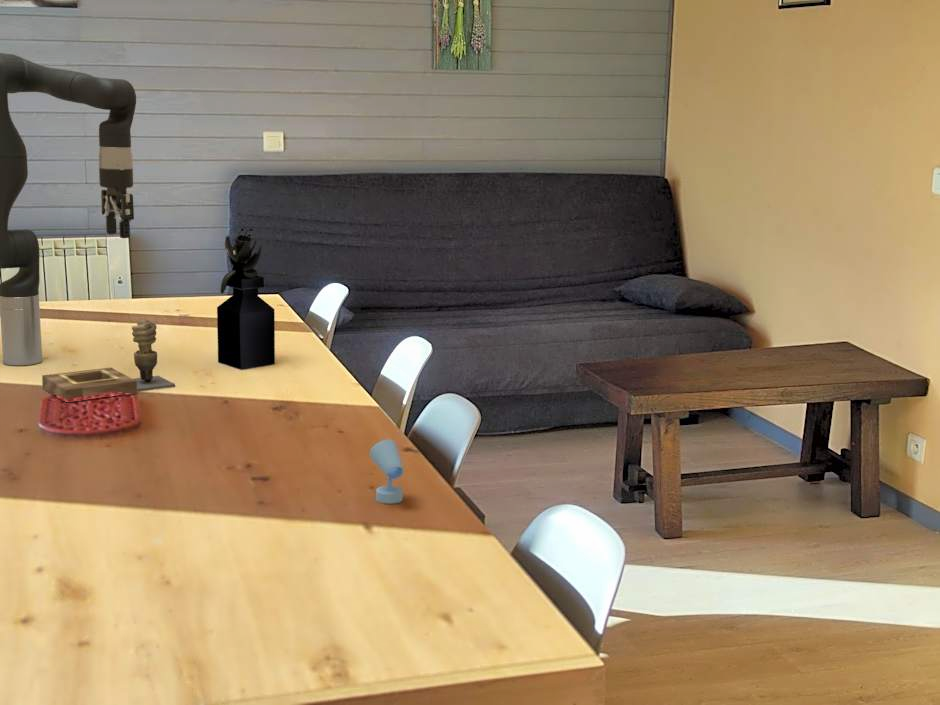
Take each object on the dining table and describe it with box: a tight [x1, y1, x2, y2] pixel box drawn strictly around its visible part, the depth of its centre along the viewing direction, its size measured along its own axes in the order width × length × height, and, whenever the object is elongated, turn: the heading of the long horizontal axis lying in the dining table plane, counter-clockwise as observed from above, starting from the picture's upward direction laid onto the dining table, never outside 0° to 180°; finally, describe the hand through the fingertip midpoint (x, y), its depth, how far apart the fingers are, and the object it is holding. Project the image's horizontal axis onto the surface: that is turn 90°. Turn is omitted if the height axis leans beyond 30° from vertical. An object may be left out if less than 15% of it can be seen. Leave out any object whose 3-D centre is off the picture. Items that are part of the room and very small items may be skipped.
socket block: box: [41, 367, 138, 399], centre depth 249 cm, size 16×16×3 cm
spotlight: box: [369, 439, 405, 505], centre depth 184 cm, size 5×10×7 cm
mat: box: [133, 375, 176, 393], centre depth 256 cm, size 10×10×1 cm
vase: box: [216, 228, 276, 371], centre depth 278 cm, size 14×12×35 cm
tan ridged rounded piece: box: [131, 319, 158, 383], centre depth 255 cm, size 6×6×15 cm
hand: (118, 235), depth 258 cm, fingers open, 8 cm apart
